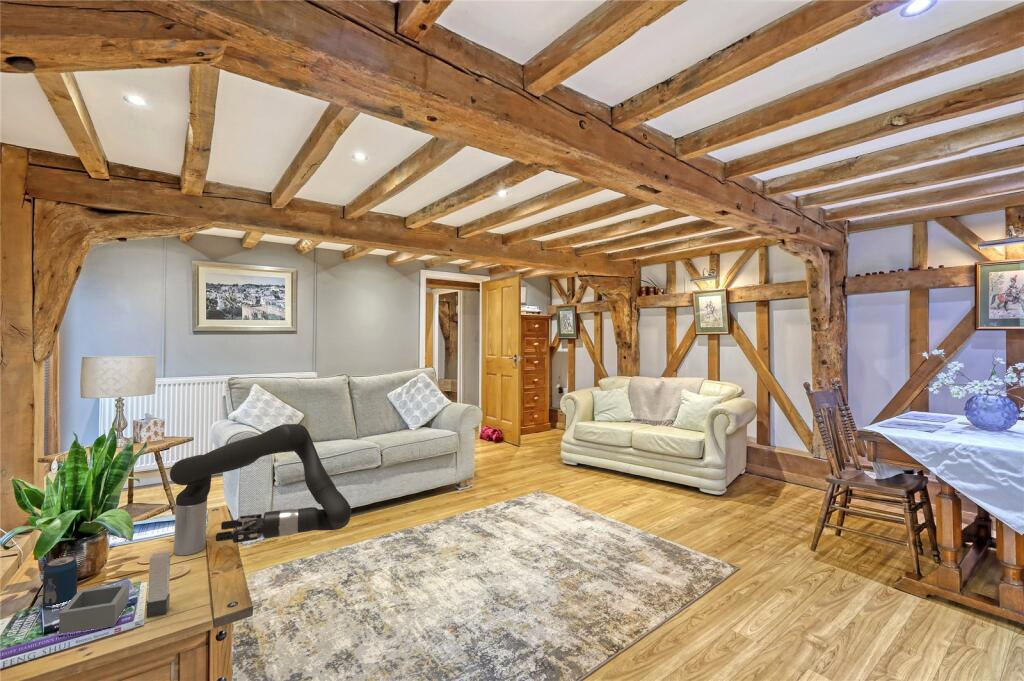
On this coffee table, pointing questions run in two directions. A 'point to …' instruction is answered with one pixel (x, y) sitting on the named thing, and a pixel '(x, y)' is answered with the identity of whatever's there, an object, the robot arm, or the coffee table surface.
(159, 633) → the coffee table surface
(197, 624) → the coffee table surface
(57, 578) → the soda can
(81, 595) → the gray open tray
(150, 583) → the two-tone gray pillar
